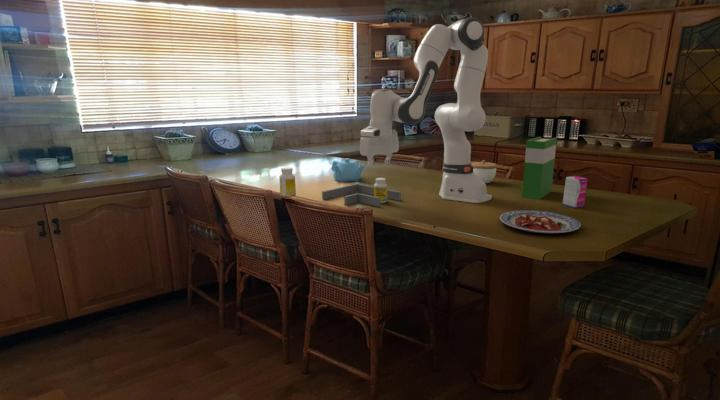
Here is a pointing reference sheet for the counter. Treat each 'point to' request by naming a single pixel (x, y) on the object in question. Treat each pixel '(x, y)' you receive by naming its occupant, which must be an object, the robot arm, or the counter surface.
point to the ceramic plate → (540, 221)
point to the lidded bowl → (485, 170)
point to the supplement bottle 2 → (380, 189)
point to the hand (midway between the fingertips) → (379, 165)
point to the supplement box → (575, 191)
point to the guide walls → (359, 197)
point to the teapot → (347, 170)
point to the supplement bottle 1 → (287, 182)
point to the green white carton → (539, 167)
